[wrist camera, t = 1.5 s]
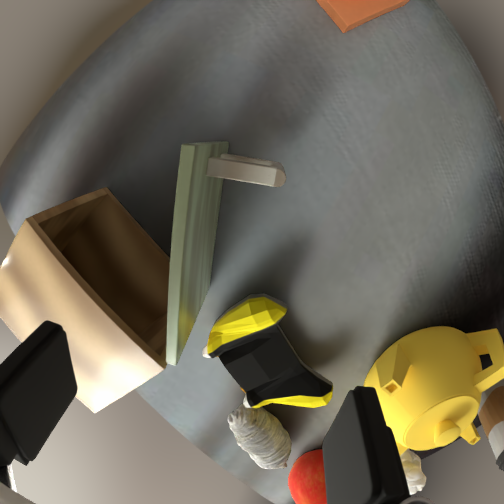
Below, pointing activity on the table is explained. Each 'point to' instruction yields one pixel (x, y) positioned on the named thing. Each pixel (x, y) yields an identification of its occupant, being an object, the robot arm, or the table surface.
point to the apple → (308, 479)
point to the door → (202, 228)
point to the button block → (357, 11)
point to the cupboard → (91, 292)
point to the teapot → (435, 384)
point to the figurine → (413, 471)
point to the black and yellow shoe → (264, 356)
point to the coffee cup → (494, 419)
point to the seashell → (261, 436)
